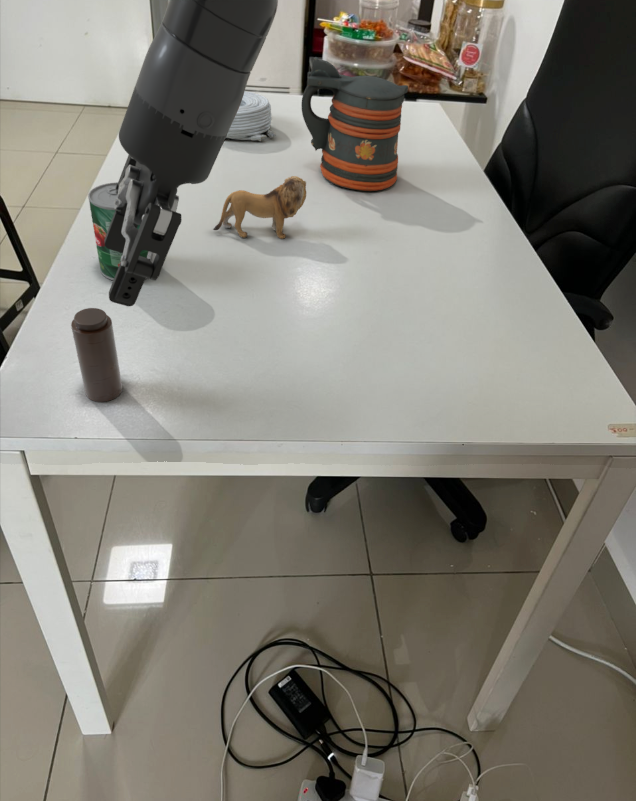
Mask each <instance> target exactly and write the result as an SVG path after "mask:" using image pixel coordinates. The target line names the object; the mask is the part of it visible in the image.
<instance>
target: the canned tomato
mask: <svg viewBox="0 0 636 801" xmlns="http://www.w3.org/2000/svg"><path fill="white" fill-rule="evenodd" d="M116 184H118V181H117V182H109V183H104V184H100V185H98V186H95V187H94V188H92V189H91V190H90V191H89V192H88V194H87V199H88V202H89V208H90V209H89V210H90V215H91V221H92V227H93V233H94V239H95V246H96V251H97V256H98V257H97V258H98V263H99V271H100V273H101V274H102V276H103V277H104V278H106V279H108V280H111V281H113V280H114V278H115V275H116V273H117V270H118V267H119V265H120V262H121V256H122V255H123V253H120V252H117V251H113V250H110V249H107V248H106V247H105V242H104V240H105V237H106V234H107V231H108V229H109V226H110V223H111V221H112V218H113V215H114V213H115V210H117V209H115V205H114V202H115V199H117V195H118V194H116V189H115V188H116ZM117 211H118V210H117ZM139 227H140V225H138V227H137V229H139ZM147 255H148V251H146V250H143V251H141V253H140V255H139V256H142V257H145V258H147Z"/></svg>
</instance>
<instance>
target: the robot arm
mask: <svg viewBox="0 0 636 801" xmlns="http://www.w3.org/2000/svg"><path fill="white" fill-rule="evenodd" d="M278 4H279V0H168V3H167V6H166V8H165V12H164V13H163V18H162V21H161V23H160V25H159V27H158V29H157V31H156V33H155V36H154V37H153V39H152V41H151V43H150V45H149V47H148V49H147V52H146V54H145V56H144V60H143V62H142V65H141V68H140V70H139V73H138V76H137V80H136V82H135V86H134V88H133V91H132V94H131V96H130V100H129V103H128V105H127V108H126V111H125V114H124V117H123V120H122V122H121V125H120V127H119V131H118V141H119V143H120V145H121V148H122V149H123V150H124V151H125V152H126V153H127V154H128V155H127V158H126V160H125V164H124V165H123V168H122V171H121V174H120V176H119V178H118V181H117V182H118V184H116V188H115V189H116V194H118V195H117V199H115V202H114V205H115V209H117V210H118V211H117V210H115V213H114V215H113V218H112V221H111V223H110V226H109V229H108V231H107V234H106V237H105V240H104V242H105V247H106V248H107V249H110V250H113V251H117V252H120V253H123V255H122V256H121V262H120V265H119V267H118V270H117V273H116V275H115V278H114V280H112V283H111V285H110V288H109V291H108V299H109V301H110V302H111V303H114V304H118V305H121V306H126V307H132V306H134V305H136V301H137V299H138V297H139V295H140V292H141V290H142V288H143V285H144V283H145V281H146V279H149V280H152V281H154V282H155V281H157V280H158V278H159V277H160V273H161V270H162V268H163V266H164V263H165V261H166V259H167V256H168V254H169V253H170V249H171V247H172V245H173V242H174V239H175V237H176V234H177V232H178V229H179V227H180V225H181V224H182V213H181V212H177V211H178V210H177V209H178V205H179V202H180V201H179V200H180V196H179V195H177V193H178V189H179V187H180V186H182V185H186V184H188V185H189V184H191V185H198V184H201V183H204V182H206V180H207V179H208V178H209V176H210V174H211V172H212V170H213V168H214V165H215V162H216V161H217V159H218V156H219V153H220V152H221V149H222V148H223V144H224V142H225V140H226V139H227V138H226V136H227V134H228V131H229V129H230V127H231V125H232V122H233V120H234V118H235V116H236V113H237V111H238V109H239V106H240V104H241V101H242V98H243V95H244V92H245V91H246V88H247V84H248V82H249V79H250V76H251V74H252V73H251V72H252V71H253V68H254V67H255V64H256V62H257V60H258V59H259V58H258V57H259V55H260V53H261V51H262V48H263V47H264V44H265V42H266V39H267V36H268V35H269V32H270V30H271V27H272V25H273V22H274V20H275V16H276V14H277V11H278ZM138 225H140V227H139V229H137V227H138ZM143 250H146V251H148V255H147V258H145V257H142V256H139V255H140V253H141V251H143Z"/></svg>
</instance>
